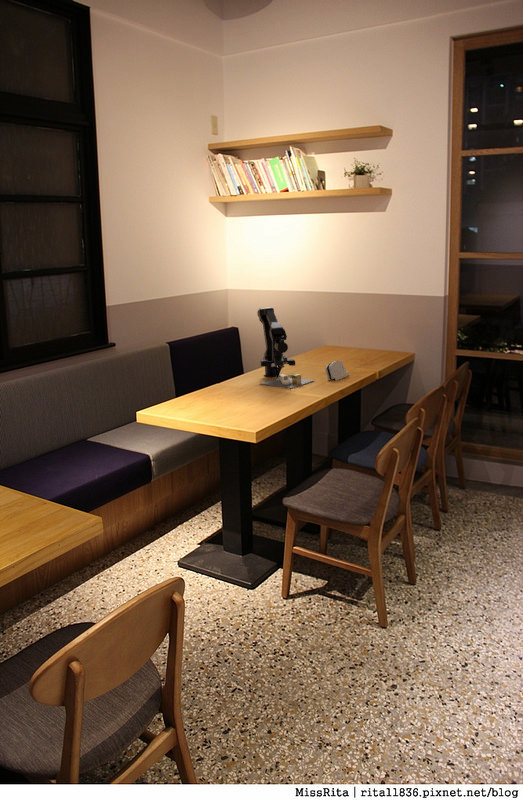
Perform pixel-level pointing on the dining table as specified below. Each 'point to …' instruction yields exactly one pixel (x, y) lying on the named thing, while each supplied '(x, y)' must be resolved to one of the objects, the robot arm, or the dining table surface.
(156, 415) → the dining table surface
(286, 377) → the link
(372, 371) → the dining table surface
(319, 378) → the dining table surface
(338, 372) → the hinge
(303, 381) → the board
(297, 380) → the block
